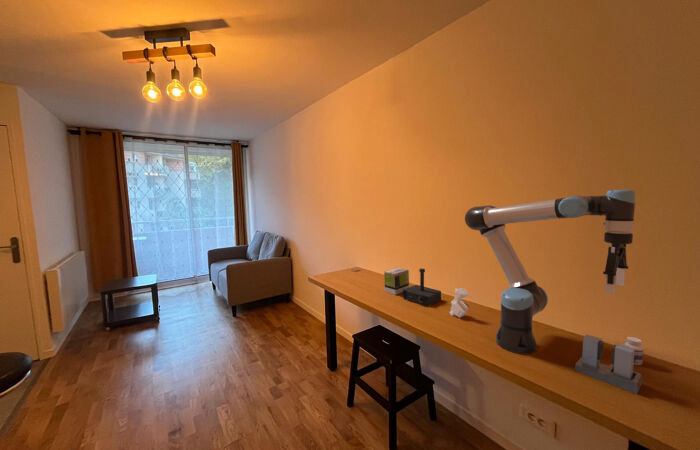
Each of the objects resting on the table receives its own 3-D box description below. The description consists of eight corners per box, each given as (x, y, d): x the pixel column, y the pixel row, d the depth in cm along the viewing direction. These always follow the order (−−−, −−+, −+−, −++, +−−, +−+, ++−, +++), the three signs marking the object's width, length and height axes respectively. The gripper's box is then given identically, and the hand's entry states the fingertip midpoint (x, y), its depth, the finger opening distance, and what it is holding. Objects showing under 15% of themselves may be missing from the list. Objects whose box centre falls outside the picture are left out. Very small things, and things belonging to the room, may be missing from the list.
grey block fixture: (574, 370, 102) (576, 337, 101) (581, 363, 106) (583, 331, 105) (637, 394, 89) (639, 357, 88) (641, 384, 94) (644, 349, 93)
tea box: (398, 287, 204) (398, 267, 203) (409, 290, 196) (409, 269, 195) (384, 291, 194) (383, 271, 193) (395, 295, 187) (395, 273, 185)
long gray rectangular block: (610, 374, 96) (611, 346, 95) (613, 370, 98) (615, 342, 97) (629, 381, 92) (631, 352, 91) (632, 376, 94) (634, 348, 93)
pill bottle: (622, 356, 111) (623, 334, 110) (641, 360, 107) (642, 338, 106) (623, 362, 106) (625, 339, 106) (643, 367, 103) (645, 344, 102)
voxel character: (449, 300, 161) (462, 283, 152) (463, 318, 153) (478, 301, 145) (440, 302, 157) (454, 286, 148) (454, 321, 150) (469, 304, 141)
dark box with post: (400, 299, 178) (400, 269, 177) (416, 293, 190) (415, 264, 188) (427, 308, 164) (427, 274, 163) (441, 300, 175) (442, 269, 174)
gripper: (613, 228, 113) (609, 280, 115) (595, 234, 98) (592, 293, 100) (639, 230, 107) (635, 284, 109) (625, 236, 92) (621, 299, 94)
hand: (614, 288), depth 104 cm, fingers open, 13 cm apart
